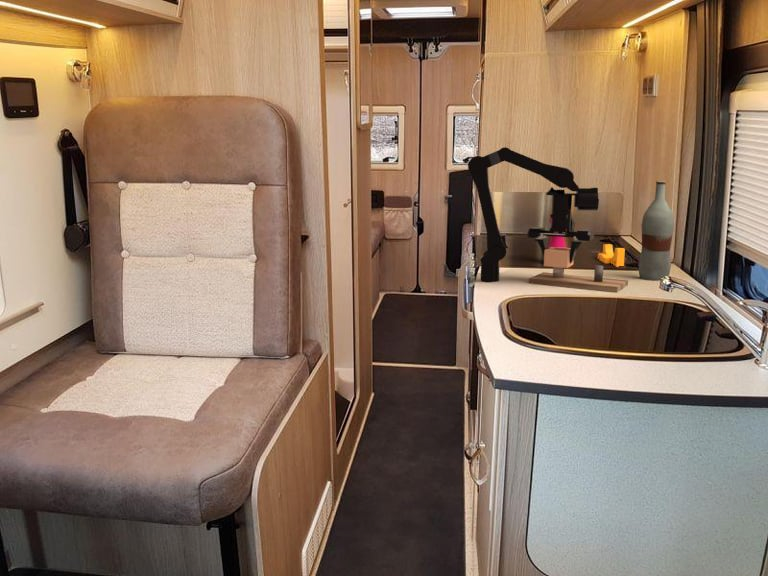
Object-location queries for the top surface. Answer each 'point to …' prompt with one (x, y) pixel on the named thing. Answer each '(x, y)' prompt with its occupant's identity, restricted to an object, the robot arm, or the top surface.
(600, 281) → the collar board
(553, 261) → the collar
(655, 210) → the bottle
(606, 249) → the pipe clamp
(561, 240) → the pepper mill
